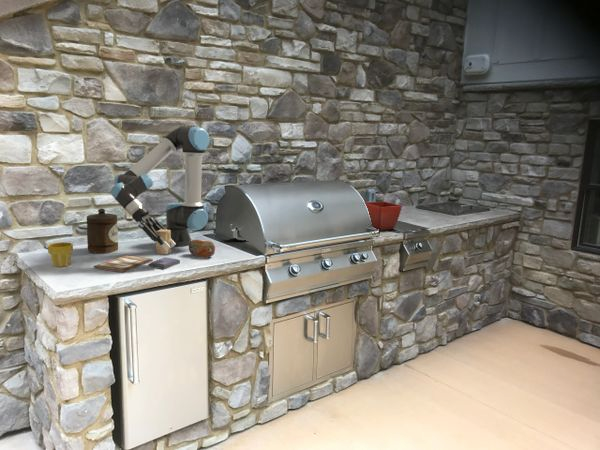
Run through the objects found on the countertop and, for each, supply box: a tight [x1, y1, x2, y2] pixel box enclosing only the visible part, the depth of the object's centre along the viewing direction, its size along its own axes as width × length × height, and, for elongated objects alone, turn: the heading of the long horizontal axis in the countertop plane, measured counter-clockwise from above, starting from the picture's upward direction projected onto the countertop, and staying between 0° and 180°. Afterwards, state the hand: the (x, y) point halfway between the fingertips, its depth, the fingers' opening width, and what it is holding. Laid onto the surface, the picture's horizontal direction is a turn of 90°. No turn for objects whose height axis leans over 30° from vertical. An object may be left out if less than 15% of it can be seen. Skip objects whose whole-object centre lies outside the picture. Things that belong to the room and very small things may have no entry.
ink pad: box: [148, 256, 181, 270], centre depth 233 cm, size 12×9×2 cm
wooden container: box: [86, 208, 119, 255], centre depth 254 cm, size 15×15×22 cm
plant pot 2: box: [364, 201, 403, 231], centre depth 336 cm, size 19×19×17 cm
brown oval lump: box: [188, 239, 216, 259], centre depth 251 cm, size 15×3×8 cm, turn 64°
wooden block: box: [155, 229, 172, 256], centre depth 231 cm, size 5×5×11 cm
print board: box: [93, 254, 154, 274], centre depth 232 cm, size 22×16×1 cm
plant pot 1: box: [47, 241, 74, 268], centre depth 227 cm, size 10×10×10 cm
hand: (171, 247), depth 231 cm, fingers closed on wooden block, 5 cm apart
